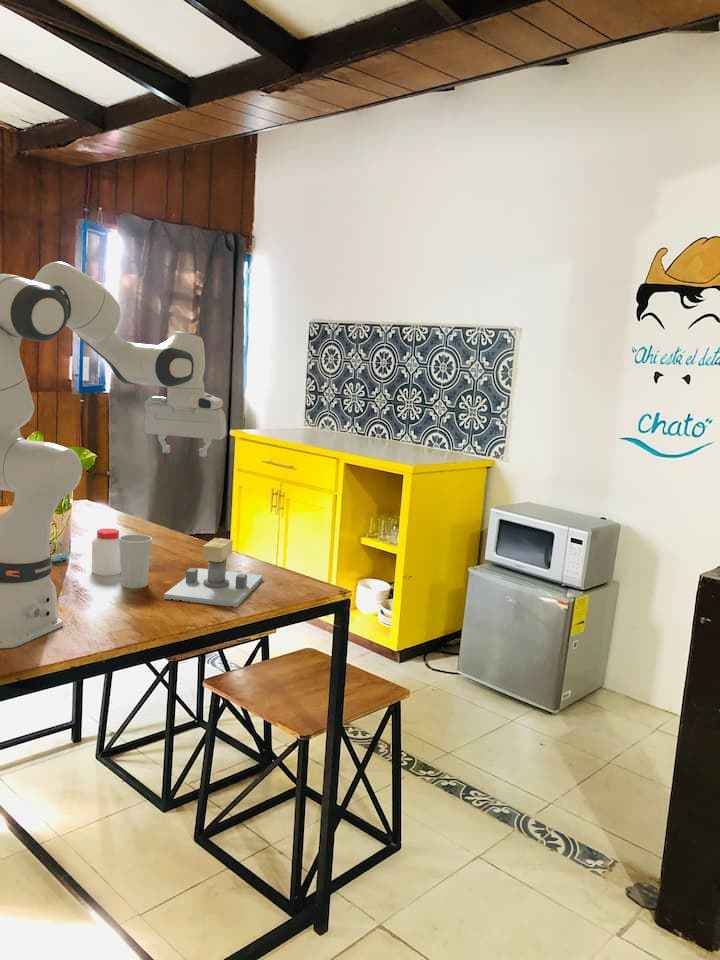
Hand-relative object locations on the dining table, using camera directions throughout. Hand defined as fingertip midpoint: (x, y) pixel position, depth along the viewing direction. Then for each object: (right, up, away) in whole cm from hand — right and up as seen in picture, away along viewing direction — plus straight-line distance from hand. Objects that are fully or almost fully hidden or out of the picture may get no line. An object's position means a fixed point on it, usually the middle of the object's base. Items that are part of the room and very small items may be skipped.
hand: (184, 454), depth 196 cm
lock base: (+7, -34, +4) cm, 35 cm away
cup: (-13, -33, +2) cm, 35 cm away
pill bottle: (-23, -31, +11) cm, 40 cm away
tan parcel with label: (+8, -27, +3) cm, 28 cm away
